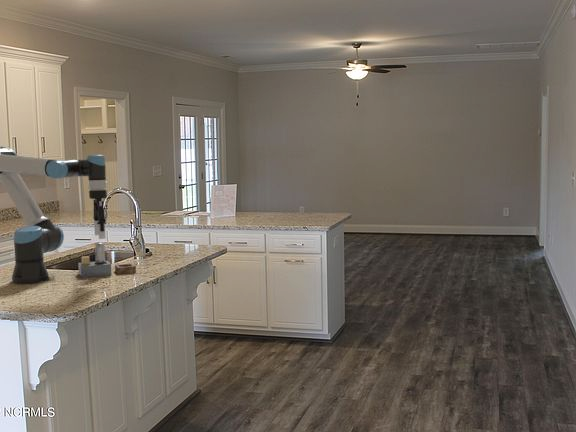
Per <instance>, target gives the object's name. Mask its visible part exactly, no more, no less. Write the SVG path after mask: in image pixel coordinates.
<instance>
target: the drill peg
mask: <svg viewBox="0 0 576 432" xmlns="http://www.w3.org/2000/svg"><path fill="white" fill-rule="evenodd" d="M94 247H95V249H94V250H95V262H96V264H105V261H106V254H105V253H106V250H105V242H96V243H94Z"/></svg>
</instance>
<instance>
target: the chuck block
mask: <svg viewBox="0 0 576 432" xmlns="http://www.w3.org/2000/svg"><path fill="white" fill-rule="evenodd" d="M77 265H78V275H79V276H80V278H81V279H84V278H97V277H108V276H109V277H110V276H112V274H113V273H112V263H110V262H109V260H105V264H96V261H90V265H82V262H78V264H77Z"/></svg>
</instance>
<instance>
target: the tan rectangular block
mask: <svg viewBox="0 0 576 432" xmlns="http://www.w3.org/2000/svg"><path fill="white" fill-rule="evenodd" d="M90 262H91V260H90V256H88V255H87V256H85V255H84V256H81V263H82V265H90Z"/></svg>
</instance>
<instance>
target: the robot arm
mask: <svg viewBox="0 0 576 432" xmlns="http://www.w3.org/2000/svg"><path fill="white" fill-rule="evenodd" d="M86 157H87V158H86V159H73V158H72V159H65V160H62V159H61V160H59V159H51V158H50V159H49V158H42V157H41V158H39V157H31V156H20V155H18V154H17V152H16V151H15V150H13V149H12V148H9V147H7V146H6V147H5V146H0V183H1V184H2V186H3V187H4V189H5V191H6V192H7V194H8V196H9V198H10V199H11V201H12V202H13V204H14V206H15V209H17V211H18V213H19V214H20V216H21V218H22V219H23V221H24V223H25V225H26V226H21V227H19V228H17V229H16V230H14V233H13V243H14V248H13V249H14V261H15V262H14V263H15V265H14V268H13V272H12V274H11V282H12V283H13V284H20V283H26V284H36V283H35V282H37V283H42V282H41V281H43V282H46V281H48V280H49V278H50V277H49V276H50V275H49V272H48V269H47V267H46V264H45V261H44V260H45V259H44V254H46V253H50V252H53V251H55V250H58V249H59V248H60V247H61V246H62V245H63V244H64V240H65V235H64V231H63V230H62V228H61V227H60V226H58V225H56V224H53V222H52V220H51V218H49V217H46V216H45V215H44V213H43V211H42V210H41V208H40V207H39V205H38V203H37V201H36V200H35V198H34V196H33V195H32V193H31V191H30V190H29V188H28V186H27V184H26V183H25V181H24V179H23V177H22V176H21V175H20V174H22V175H30V176H31V175H32V176H40V177H50V178H52V179H63V178H65V179H66V178H75V177H88V178H87V180H88V181H87V182H88V190H89V191H88V194H89V197H88V198H89V199H90V200H93V204H92V205H93V216H92V218H93V220H94V221H93V223H94V236H98V239H99V240H102V239H103V240H105V239H106V214H105V207H104V206H105V205H104V203H105V202H104V201H103V199H107V197H108V195H107V190H106V189H107V184H108V181H107V178H106V177H107V175H106V173H107V172H106V157H105V155H103V154H88V155H87V156H86ZM45 280H46V281H45Z"/></svg>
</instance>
